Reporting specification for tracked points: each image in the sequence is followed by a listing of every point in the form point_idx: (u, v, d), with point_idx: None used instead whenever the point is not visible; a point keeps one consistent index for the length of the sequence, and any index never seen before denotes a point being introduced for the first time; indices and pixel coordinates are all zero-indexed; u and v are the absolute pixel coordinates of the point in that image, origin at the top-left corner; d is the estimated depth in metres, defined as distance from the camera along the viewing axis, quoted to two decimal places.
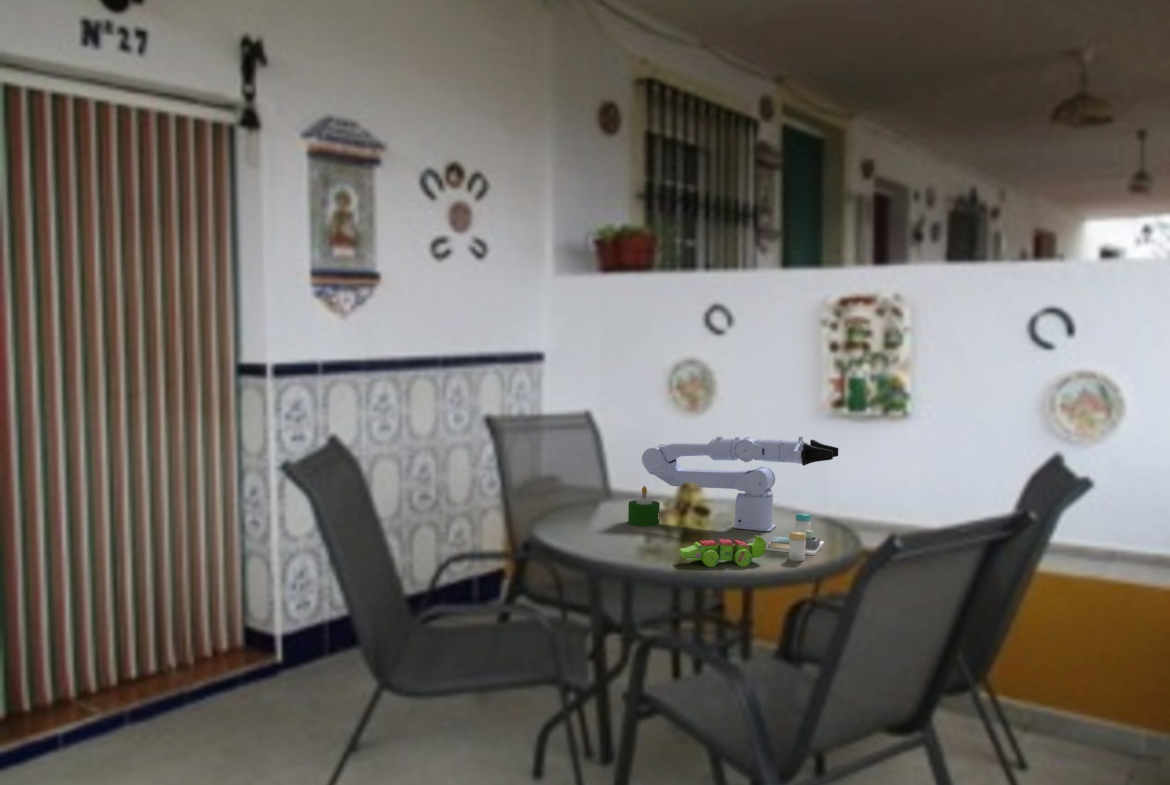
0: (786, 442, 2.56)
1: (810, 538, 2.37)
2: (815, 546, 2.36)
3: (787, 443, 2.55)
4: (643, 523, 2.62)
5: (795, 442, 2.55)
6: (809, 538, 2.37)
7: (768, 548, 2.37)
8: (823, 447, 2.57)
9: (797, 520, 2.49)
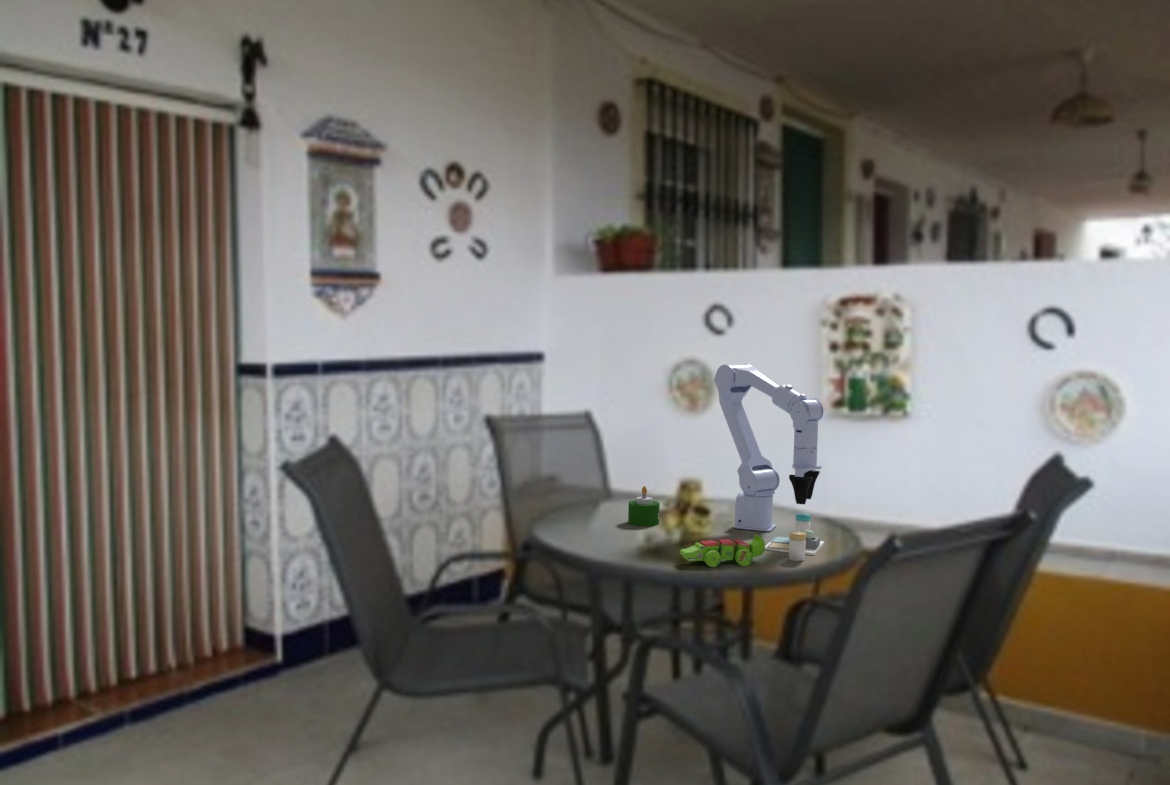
0: (814, 454, 2.46)
1: (810, 538, 2.37)
2: (815, 546, 2.36)
3: (812, 455, 2.46)
4: (643, 523, 2.62)
5: (814, 463, 2.46)
6: (809, 538, 2.37)
7: (768, 548, 2.37)
8: (811, 484, 2.52)
9: (797, 520, 2.49)
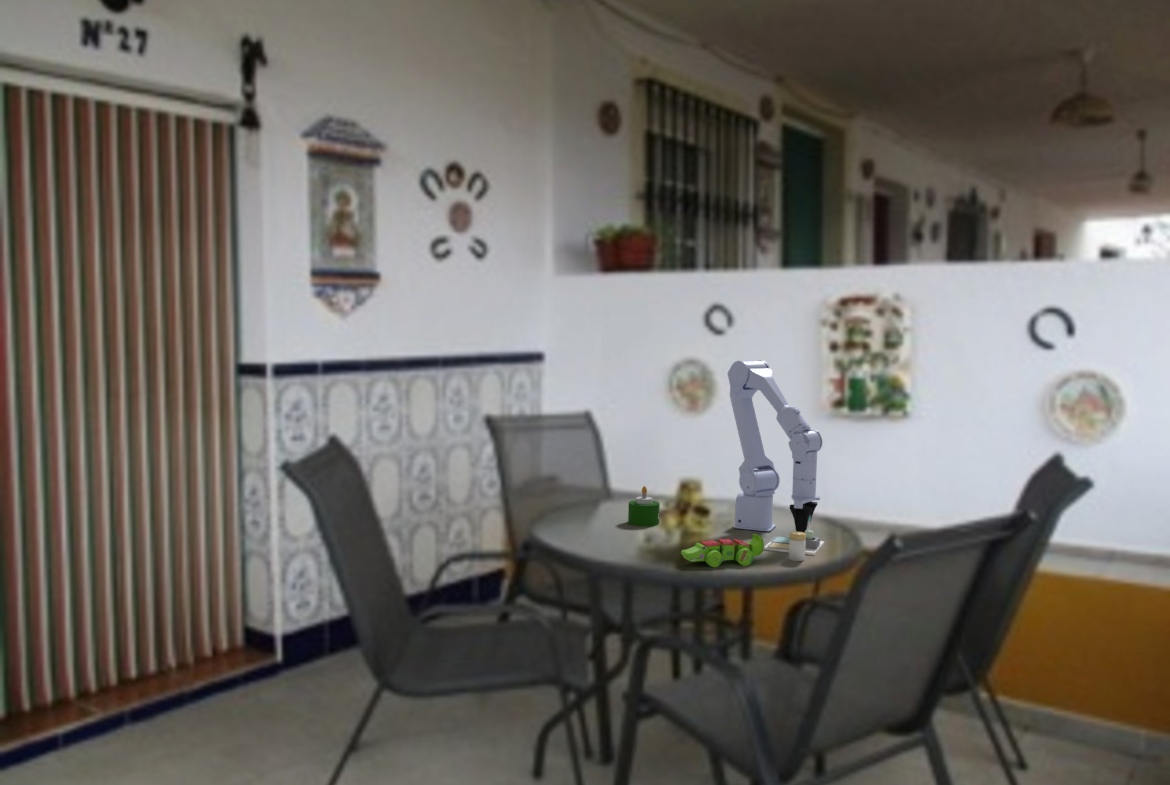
0: (813, 485, 2.47)
1: (810, 538, 2.37)
2: (815, 546, 2.36)
3: (811, 487, 2.47)
4: (643, 523, 2.62)
5: (813, 494, 2.47)
6: (809, 538, 2.37)
7: (768, 548, 2.37)
8: None
9: None
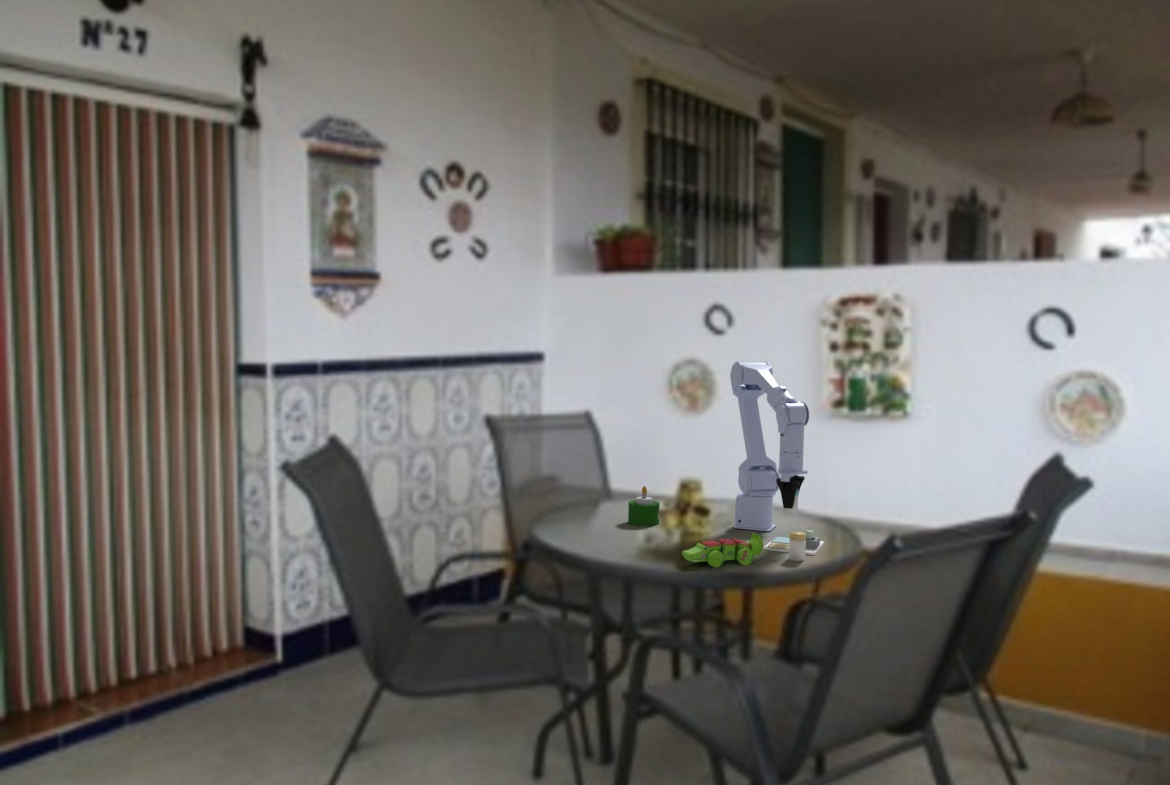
0: (800, 459, 2.41)
1: (810, 538, 2.37)
2: (815, 546, 2.36)
3: (798, 460, 2.41)
4: (643, 523, 2.62)
5: (800, 468, 2.42)
6: (809, 538, 2.37)
7: (768, 548, 2.37)
8: None
9: None
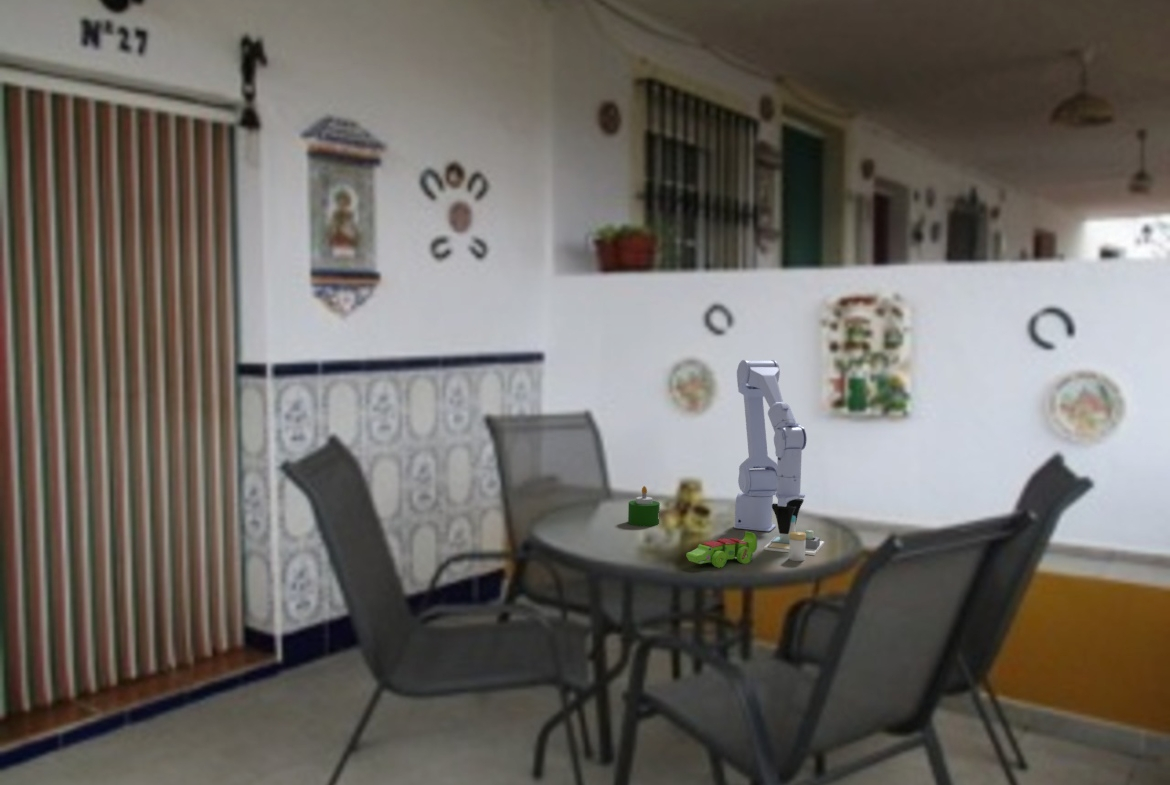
0: (797, 483, 2.41)
1: (810, 538, 2.37)
2: (815, 546, 2.36)
3: (796, 484, 2.41)
4: (643, 523, 2.62)
5: (797, 492, 2.42)
6: (809, 538, 2.37)
7: (768, 548, 2.37)
8: (794, 513, 2.47)
9: None
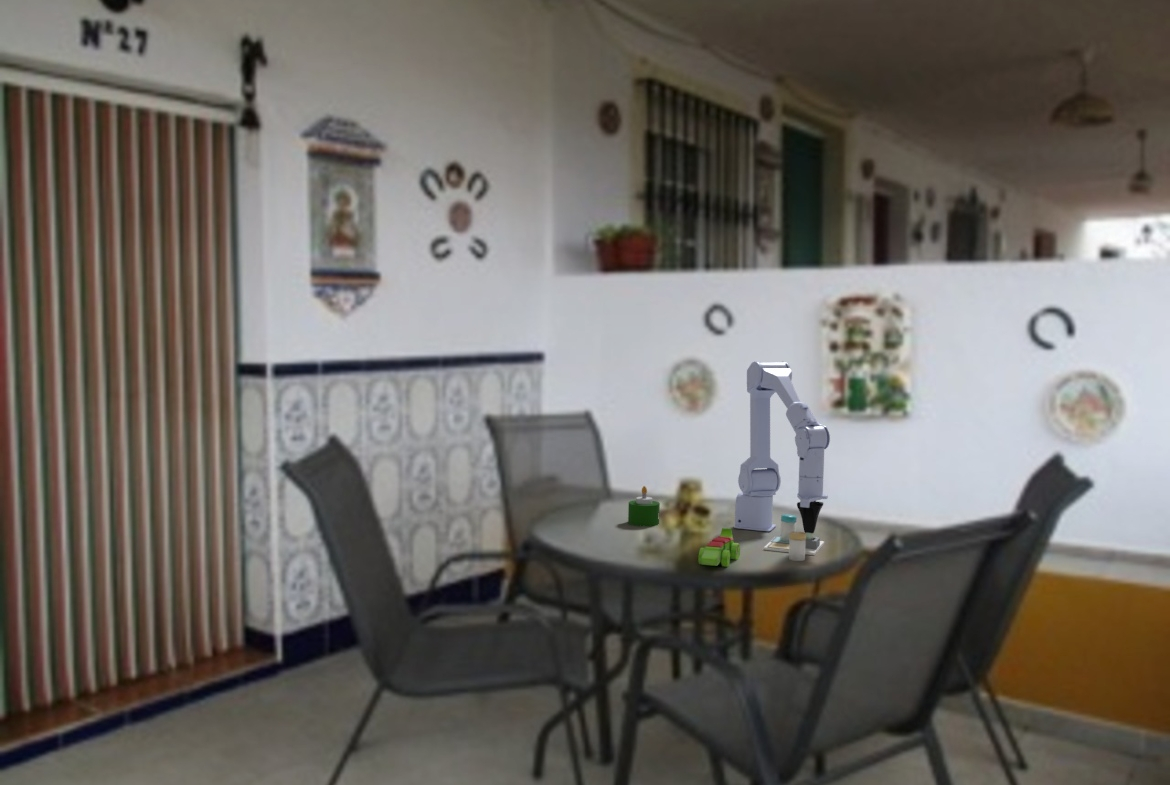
0: (820, 483, 2.35)
1: (810, 539, 2.37)
2: (815, 546, 2.36)
3: (818, 485, 2.35)
4: (643, 523, 2.62)
5: (820, 493, 2.35)
6: (809, 539, 2.37)
7: (768, 548, 2.37)
8: None
9: (783, 521, 2.43)
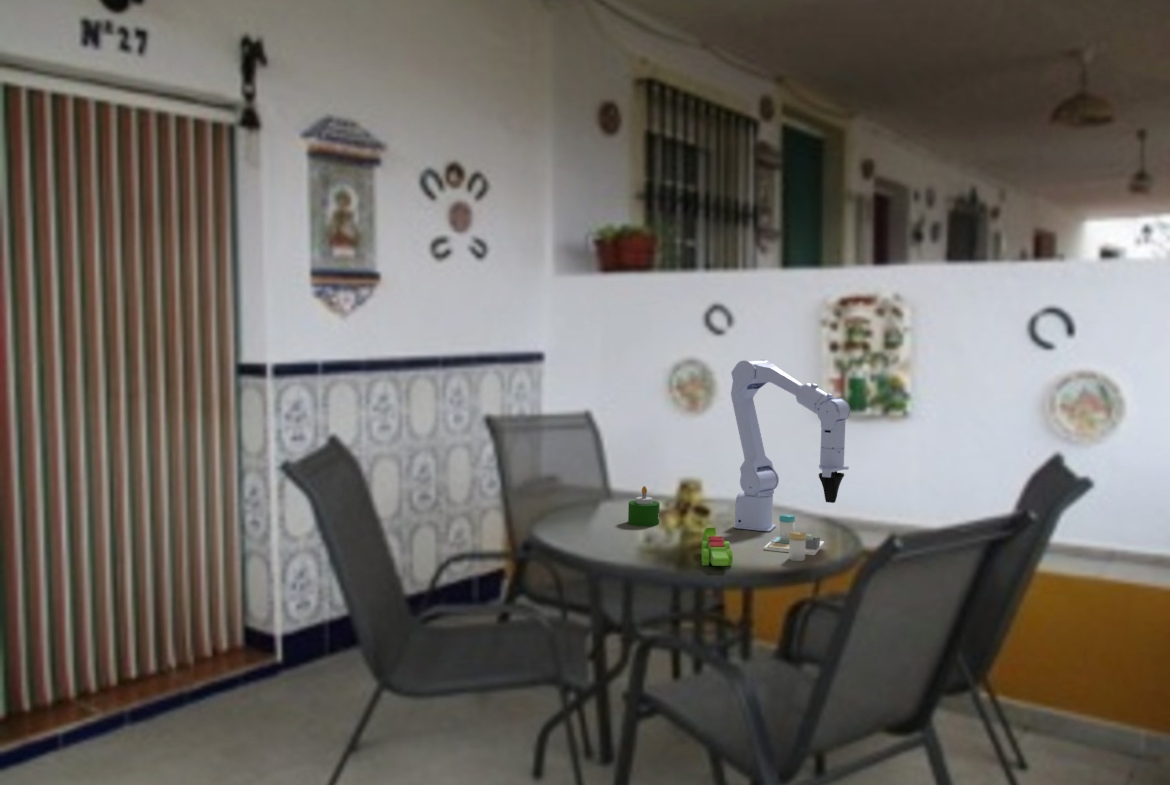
0: (841, 454, 2.43)
1: None
2: (815, 546, 2.36)
3: (840, 456, 2.43)
4: (643, 523, 2.62)
5: (841, 464, 2.44)
6: None
7: (768, 548, 2.37)
8: None
9: (782, 521, 2.43)
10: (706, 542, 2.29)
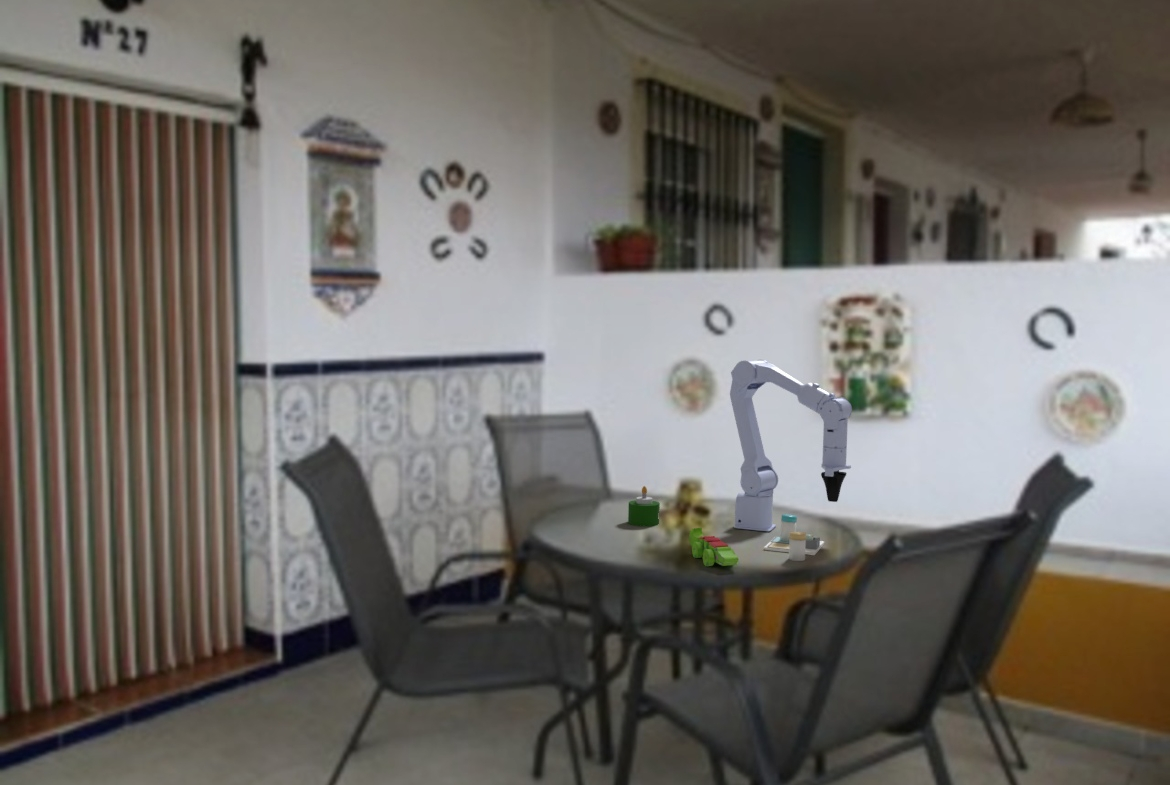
0: (843, 454, 2.44)
1: None
2: (815, 546, 2.36)
3: (842, 455, 2.44)
4: (643, 523, 2.62)
5: (843, 463, 2.45)
6: None
7: (768, 548, 2.37)
8: None
9: (784, 521, 2.43)
10: (699, 543, 2.29)
